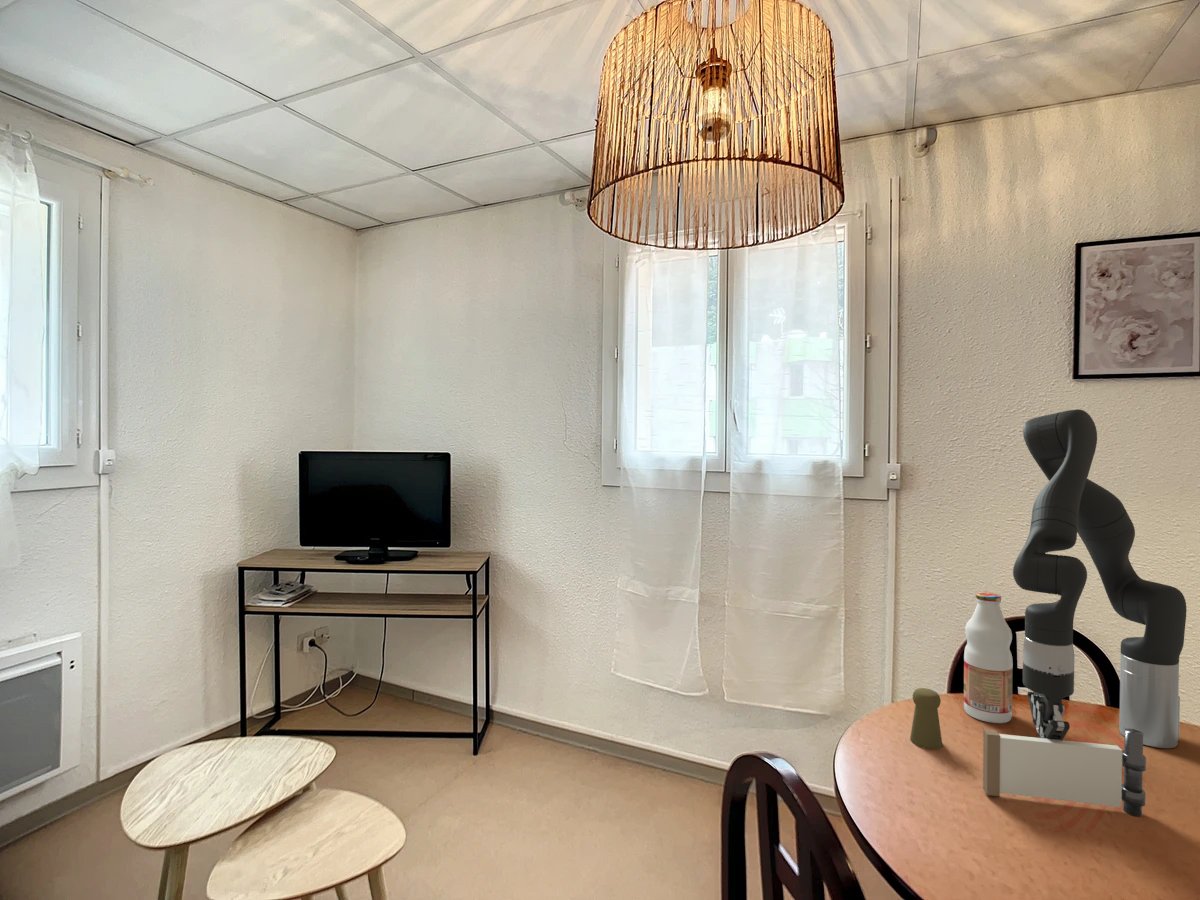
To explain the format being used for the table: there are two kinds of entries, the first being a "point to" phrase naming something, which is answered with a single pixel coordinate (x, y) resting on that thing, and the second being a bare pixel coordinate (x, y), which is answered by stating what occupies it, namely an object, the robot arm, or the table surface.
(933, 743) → the olive green pawn
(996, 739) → the gate
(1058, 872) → the table surface
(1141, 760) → the gate post
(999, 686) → the fruit juice
